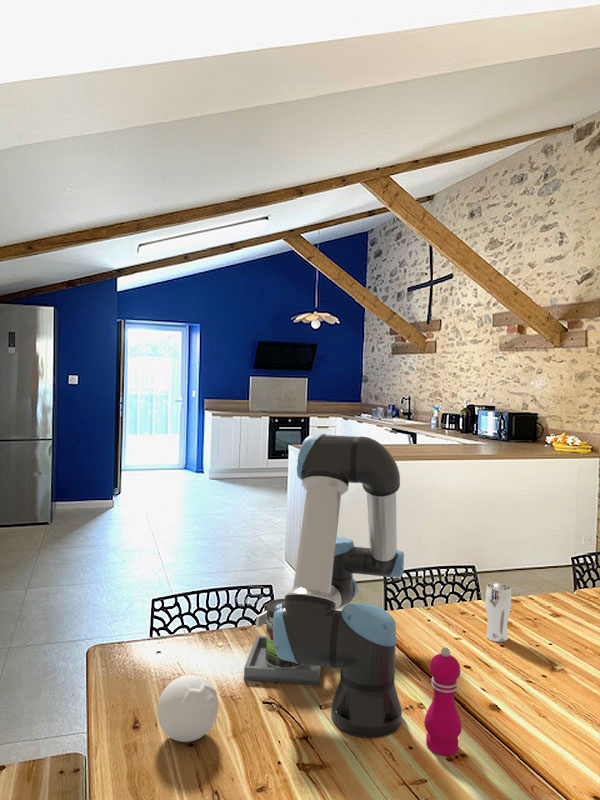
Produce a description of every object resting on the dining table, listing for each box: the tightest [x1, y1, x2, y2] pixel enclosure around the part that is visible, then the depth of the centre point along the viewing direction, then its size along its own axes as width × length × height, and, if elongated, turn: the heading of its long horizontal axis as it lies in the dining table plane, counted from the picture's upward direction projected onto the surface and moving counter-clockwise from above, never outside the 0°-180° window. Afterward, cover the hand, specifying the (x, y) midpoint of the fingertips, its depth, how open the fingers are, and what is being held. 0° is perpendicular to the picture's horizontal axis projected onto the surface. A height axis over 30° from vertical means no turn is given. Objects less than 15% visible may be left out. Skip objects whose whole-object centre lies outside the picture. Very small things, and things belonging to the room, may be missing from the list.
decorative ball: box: [157, 674, 219, 743], centre depth 120 cm, size 12×12×12 cm
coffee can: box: [265, 598, 303, 669], centre depth 152 cm, size 10×10×14 cm
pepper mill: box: [424, 647, 462, 756], centre depth 119 cm, size 7×7×20 cm
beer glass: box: [484, 581, 512, 643], centre depth 171 cm, size 7×7×15 cm
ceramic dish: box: [243, 635, 322, 686], centre depth 152 cm, size 18×18×3 cm
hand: (279, 628), depth 149 cm, fingers open, 13 cm apart
